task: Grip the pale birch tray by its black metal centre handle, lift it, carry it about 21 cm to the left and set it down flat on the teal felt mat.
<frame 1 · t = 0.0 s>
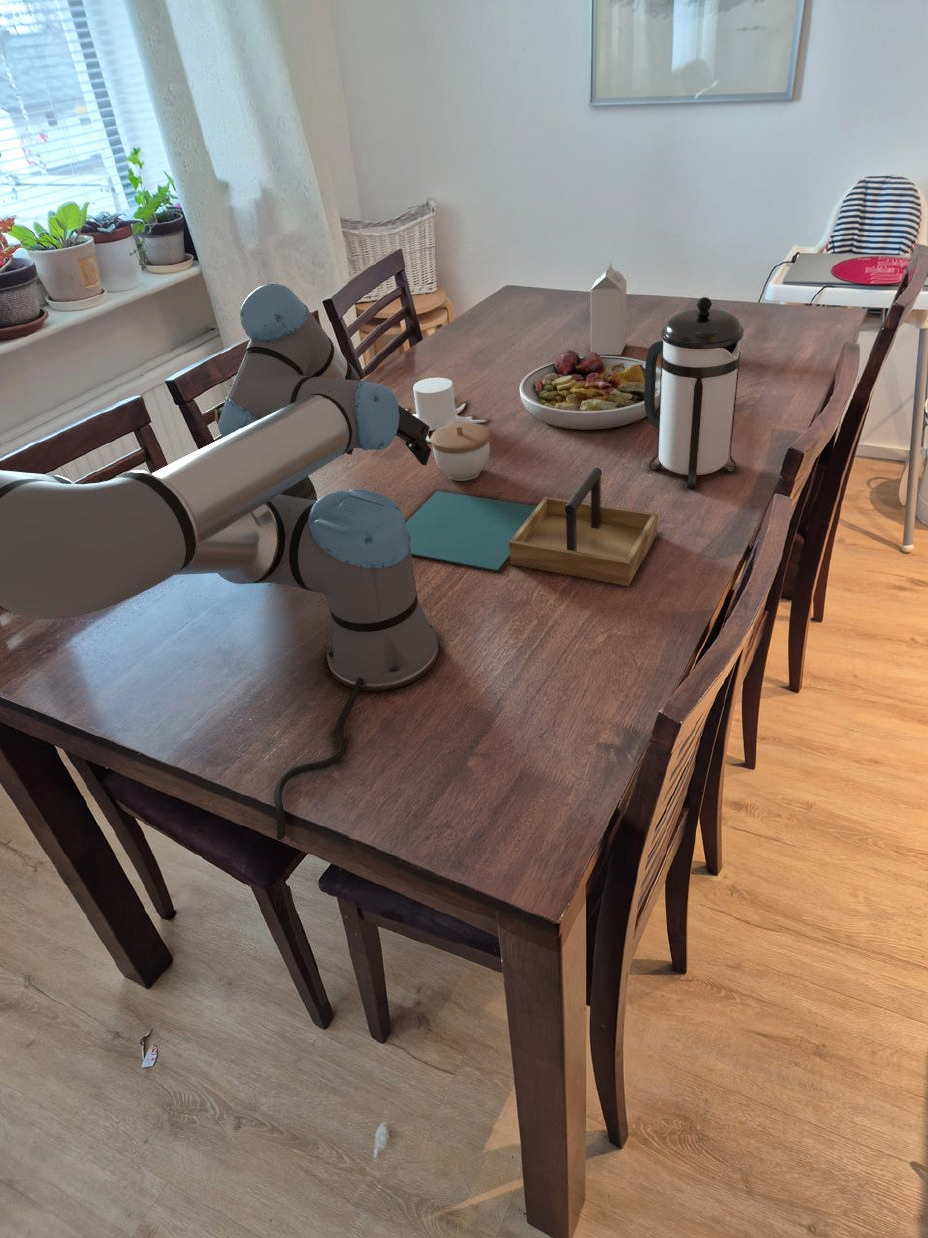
hand: (388, 452, 135), 15 cm above the table, tool tilted 35°, fingers open, 13 cm apart
bowl: (592, 406, 179), on the table
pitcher: (288, 554, 143), on the table
tray: (584, 549, 136), on the table
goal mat: (465, 528, 144), on the table
milk carton: (608, 351, 204), on the table
white jar with lid: (464, 474, 160), on the table
tree stump: (435, 423, 180), on the table
coffee press: (685, 468, 154), on the table
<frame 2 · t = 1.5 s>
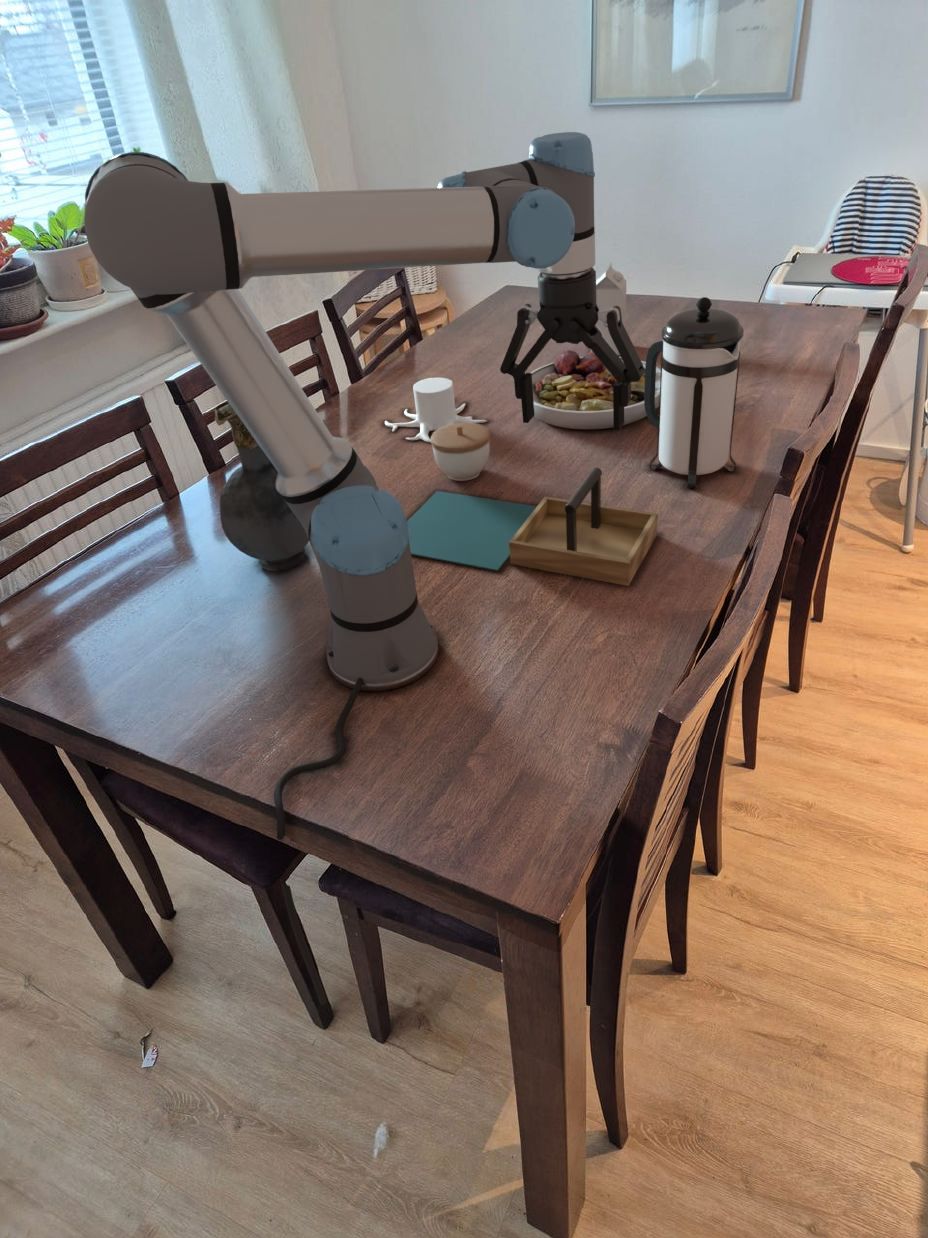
hand: (572, 422, 124), 21 cm above the table, tool pointing down, fingers open, 13 cm apart
nothing on the table moved.
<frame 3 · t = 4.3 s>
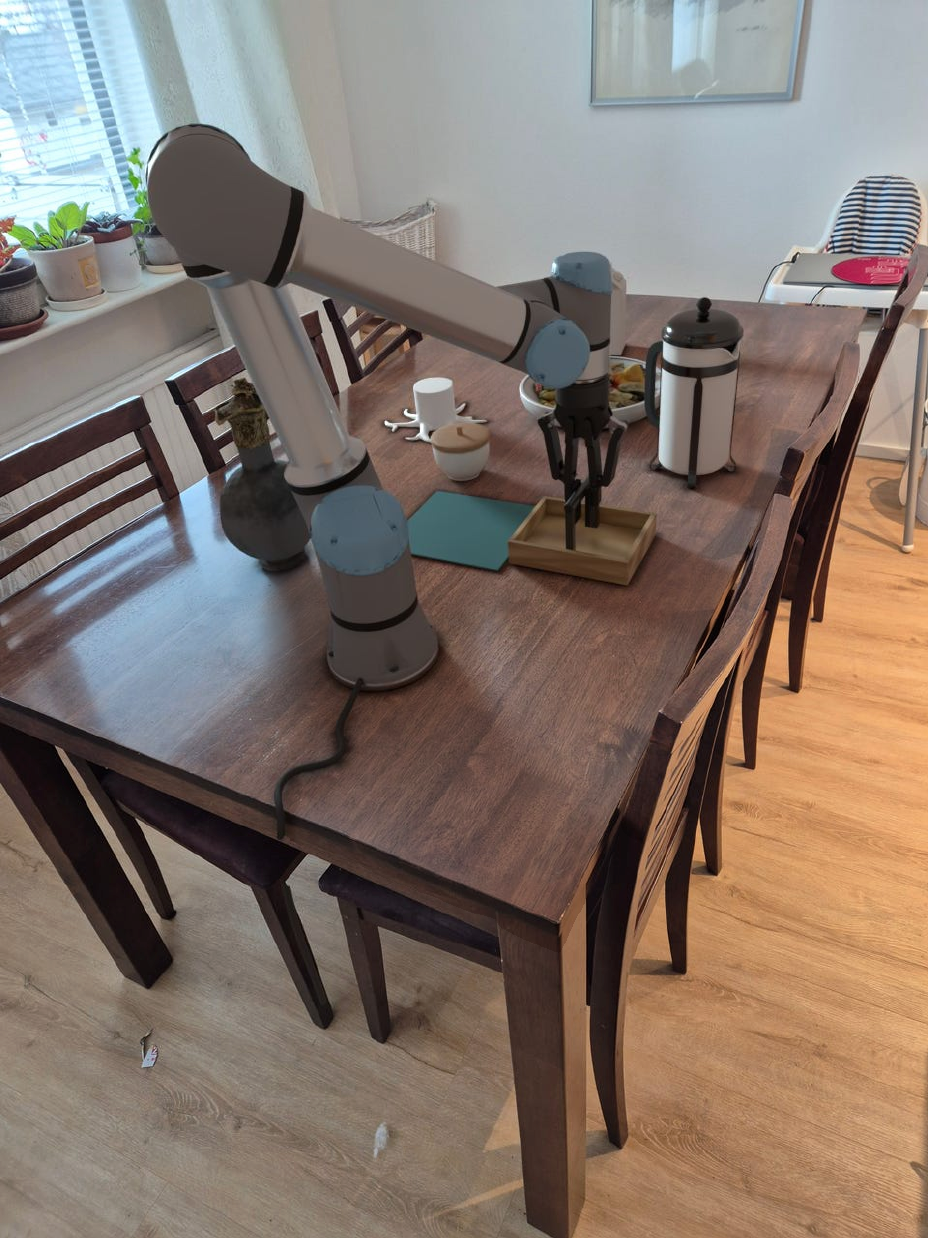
hand: (583, 521, 133), 5 cm above the table, tool pointing down, fingers closed on tray, 2 cm apart
tray: (583, 548, 135), on the table, touching gripper
everything else where it was.
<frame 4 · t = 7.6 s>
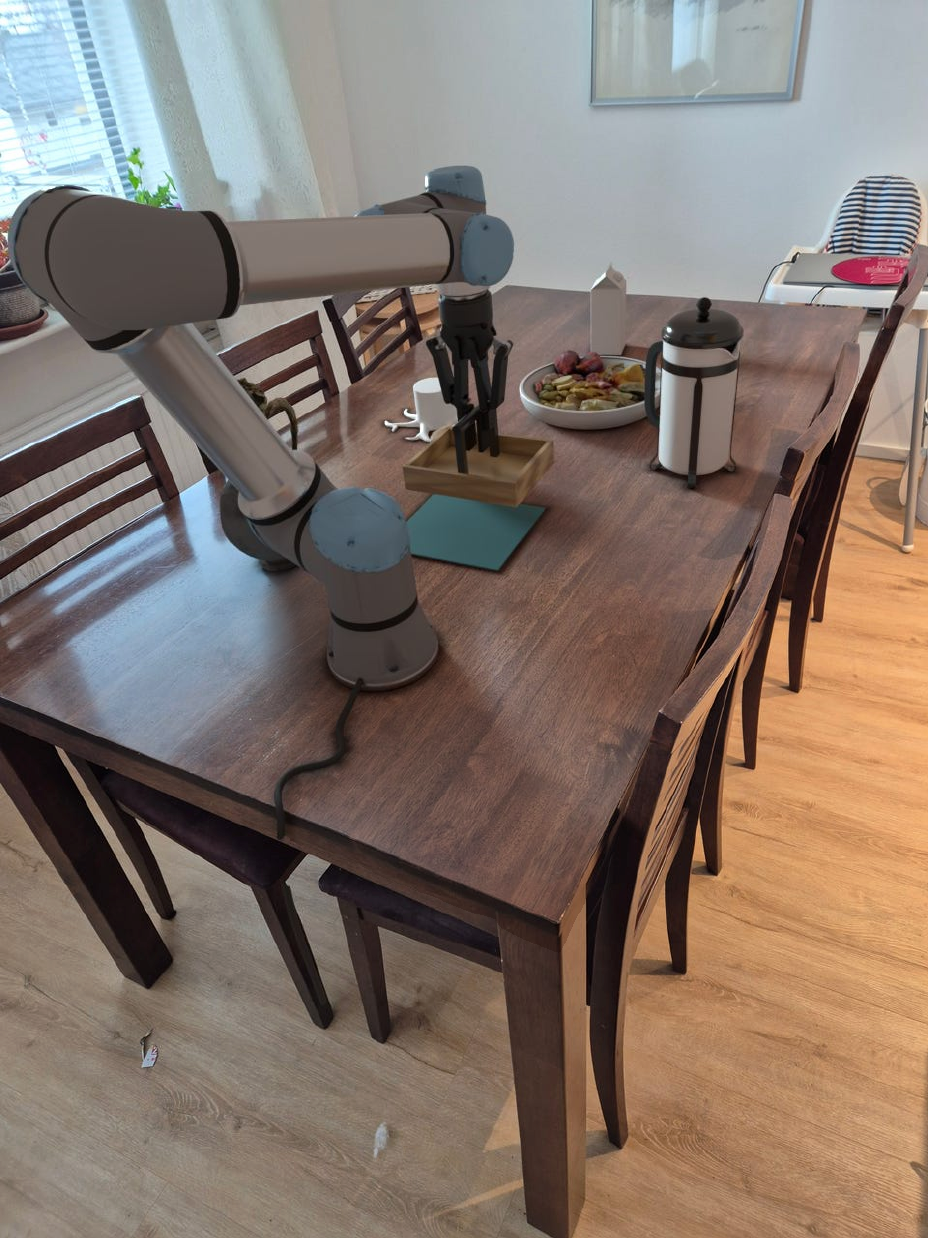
hand: (477, 447, 133), 15 cm above the table, tool pointing down, fingers closed on tray, 2 cm apart
tray: (480, 476, 136), point 10 cm above the table, touching gripper
everything else where it was.
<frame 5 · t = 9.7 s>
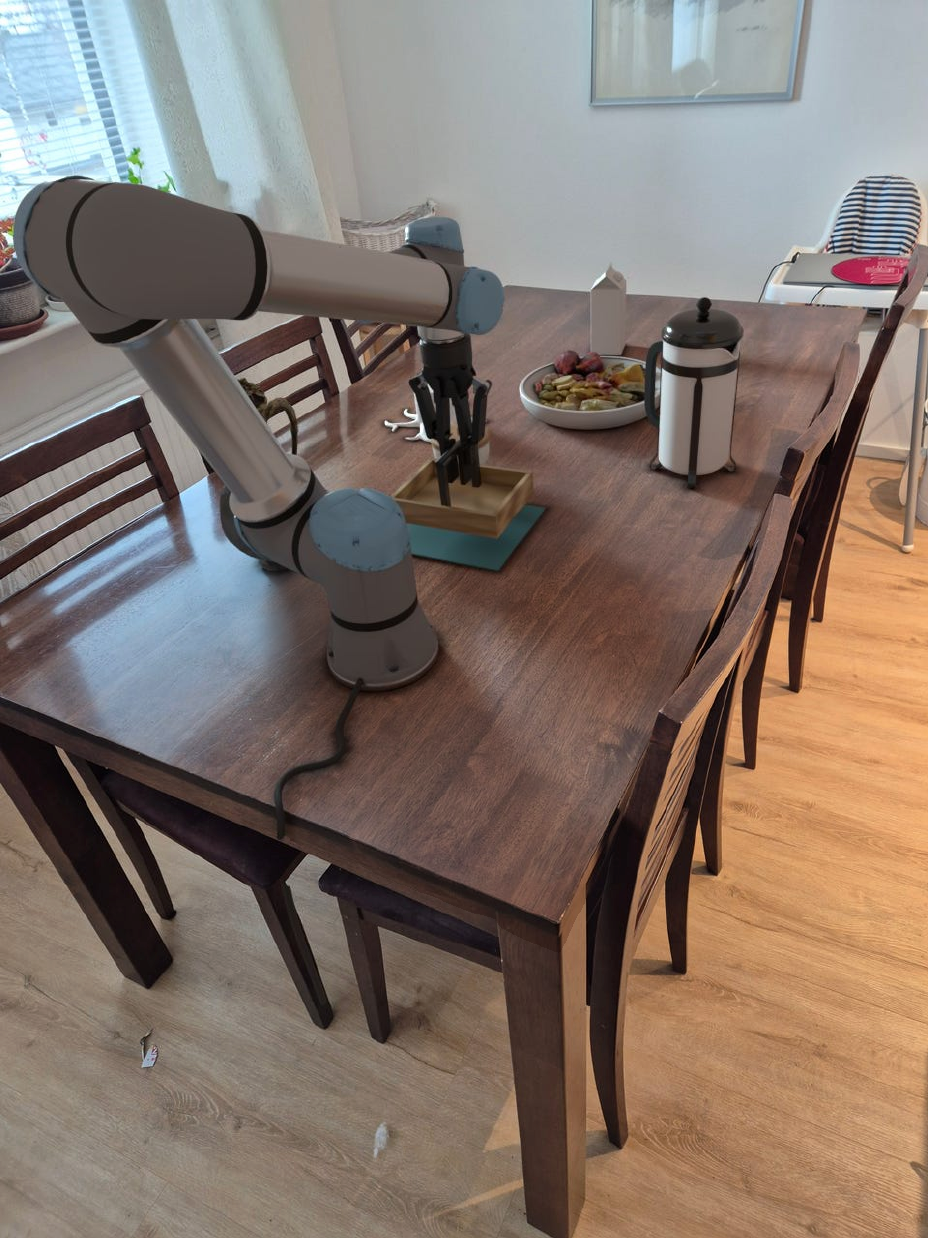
hand: (460, 479, 139), 9 cm above the table, tool pointing down, fingers closed on tray, 2 cm apart
tray: (463, 506, 142), point 4 cm above the table, touching gripper
everything else where it was.
when the fingers open (5 cm above the table, at t = 10.9 s): tray stays where it is, resting on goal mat.
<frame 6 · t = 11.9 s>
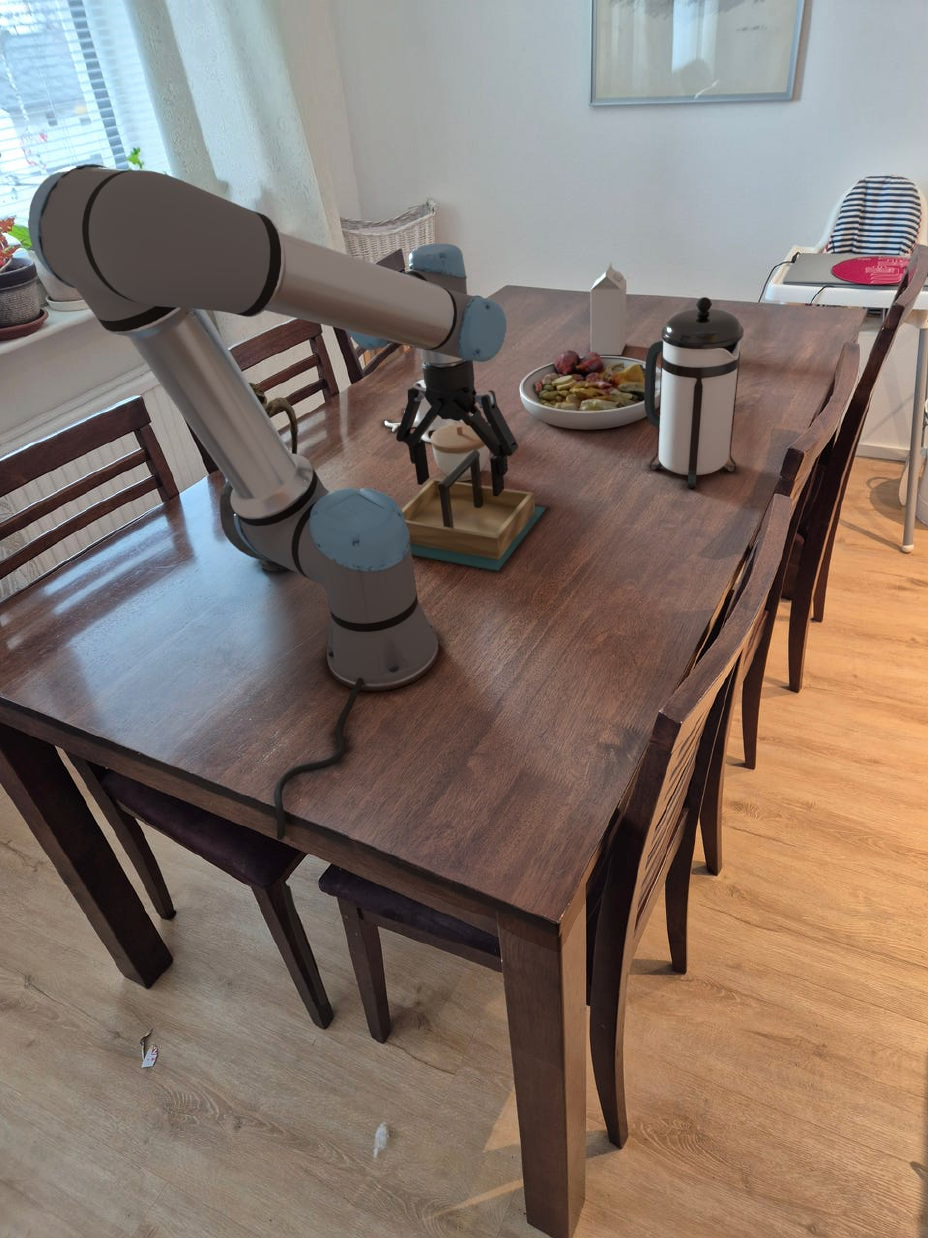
hand: (460, 486, 139), 8 cm above the table, tool pointing down, fingers open, 13 cm apart
tray: (465, 527, 144), resting on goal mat
everything else where it was.
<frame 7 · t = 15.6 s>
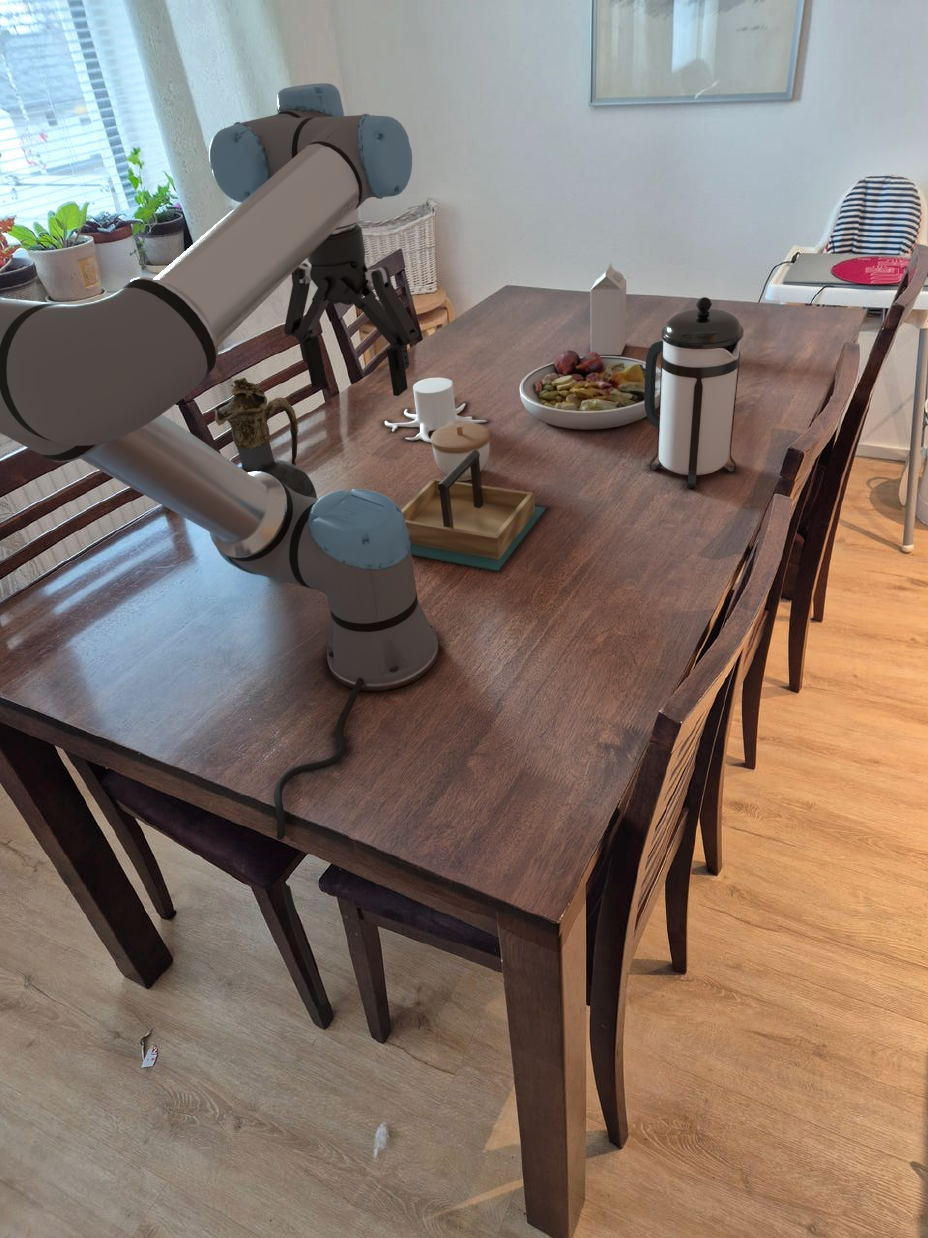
hand: (359, 387, 122), 29 cm above the table, tool pointing down, fingers open, 13 cm apart
nothing on the table moved.
at the end: tray 0.1 cm from the target spot, resting on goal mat; tray tilted 0°; the gripper is holding nothing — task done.
